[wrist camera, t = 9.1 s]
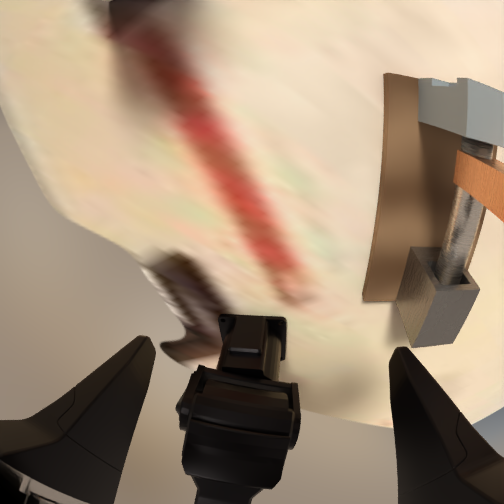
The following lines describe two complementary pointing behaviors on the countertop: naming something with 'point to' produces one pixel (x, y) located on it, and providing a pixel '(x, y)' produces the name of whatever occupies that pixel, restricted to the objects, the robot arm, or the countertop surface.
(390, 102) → the base plate
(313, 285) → the countertop surface
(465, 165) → the sliding bolt with handle
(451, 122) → the socket
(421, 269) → the outer sleeve
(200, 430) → the robot arm
